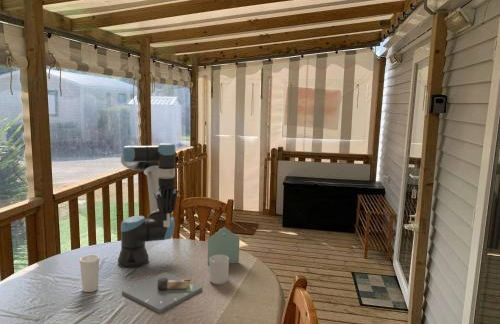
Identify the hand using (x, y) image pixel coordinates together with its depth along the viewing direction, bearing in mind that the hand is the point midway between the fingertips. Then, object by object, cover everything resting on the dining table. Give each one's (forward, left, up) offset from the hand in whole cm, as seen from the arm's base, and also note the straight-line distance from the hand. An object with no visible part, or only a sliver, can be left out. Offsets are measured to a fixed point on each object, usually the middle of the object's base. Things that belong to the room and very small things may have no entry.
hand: (166, 226), depth 174 cm
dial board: (+11, -12, -24) cm, 29 cm away
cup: (-15, -30, -25) cm, 42 cm away
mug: (+22, +13, -25) cm, 35 cm away
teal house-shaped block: (+9, +31, -25) cm, 41 cm away
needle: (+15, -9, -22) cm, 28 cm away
